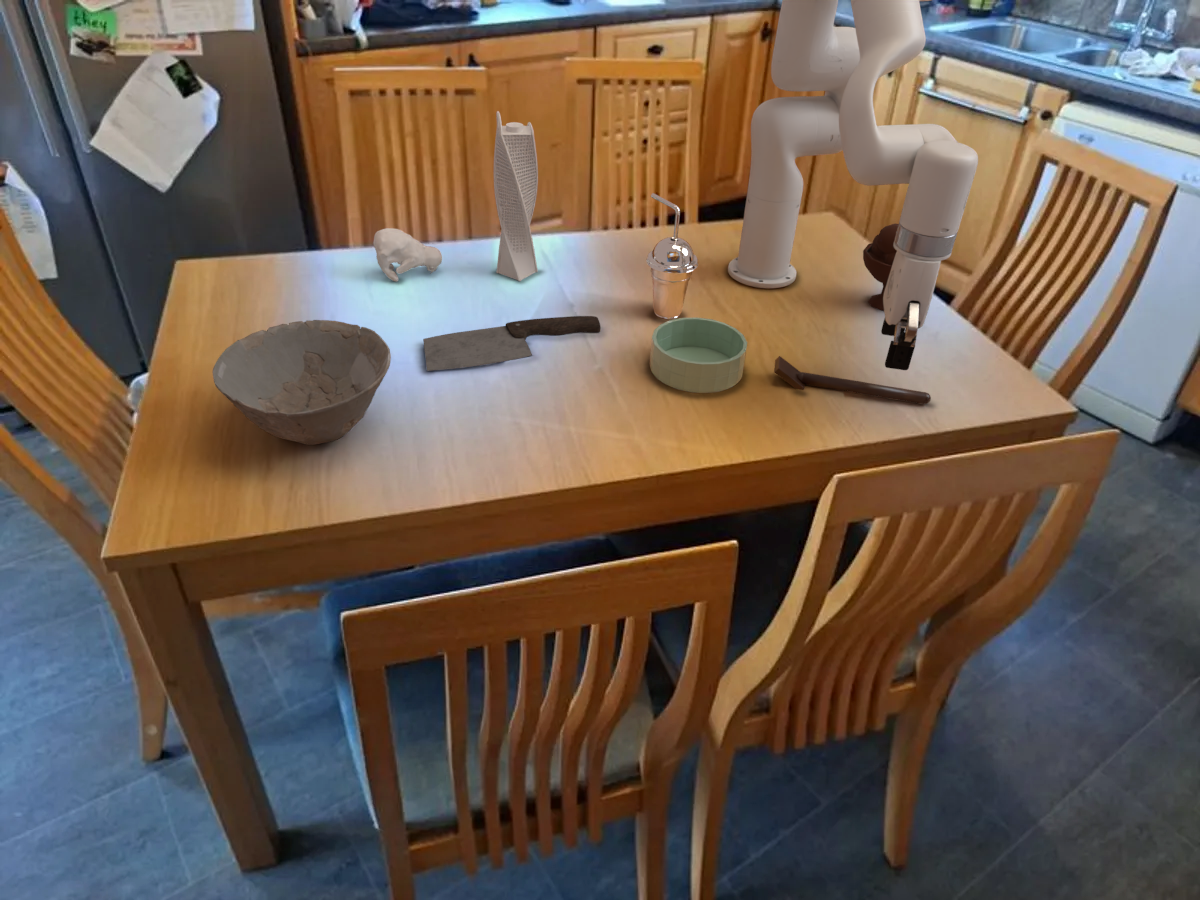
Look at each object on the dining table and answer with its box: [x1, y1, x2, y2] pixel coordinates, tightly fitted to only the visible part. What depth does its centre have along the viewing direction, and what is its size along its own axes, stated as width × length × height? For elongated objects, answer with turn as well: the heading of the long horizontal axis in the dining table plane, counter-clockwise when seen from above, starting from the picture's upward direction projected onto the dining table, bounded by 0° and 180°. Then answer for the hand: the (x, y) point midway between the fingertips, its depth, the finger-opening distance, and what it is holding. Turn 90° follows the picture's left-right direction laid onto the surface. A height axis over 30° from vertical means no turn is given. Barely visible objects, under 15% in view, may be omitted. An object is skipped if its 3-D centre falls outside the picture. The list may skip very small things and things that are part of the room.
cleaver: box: [422, 315, 601, 372], centre depth 140 cm, size 30×10×2 cm, turn 110°
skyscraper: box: [493, 110, 539, 282], centre depth 154 cm, size 8×8×28 cm
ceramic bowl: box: [212, 319, 392, 446], centre depth 118 cm, size 22×23×10 cm
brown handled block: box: [773, 355, 932, 405], centre depth 132 cm, size 21×4×11 cm
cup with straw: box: [645, 192, 699, 320], centre depth 145 cm, size 8×9×20 cm
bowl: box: [649, 316, 748, 394], centre depth 135 cm, size 14×14×6 cm
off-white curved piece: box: [372, 227, 443, 283], centre depth 157 cm, size 6×8×12 cm
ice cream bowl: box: [862, 223, 899, 311], centre depth 153 cm, size 11×11×15 cm
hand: (893, 351), depth 128 cm, fingers open, 9 cm apart
